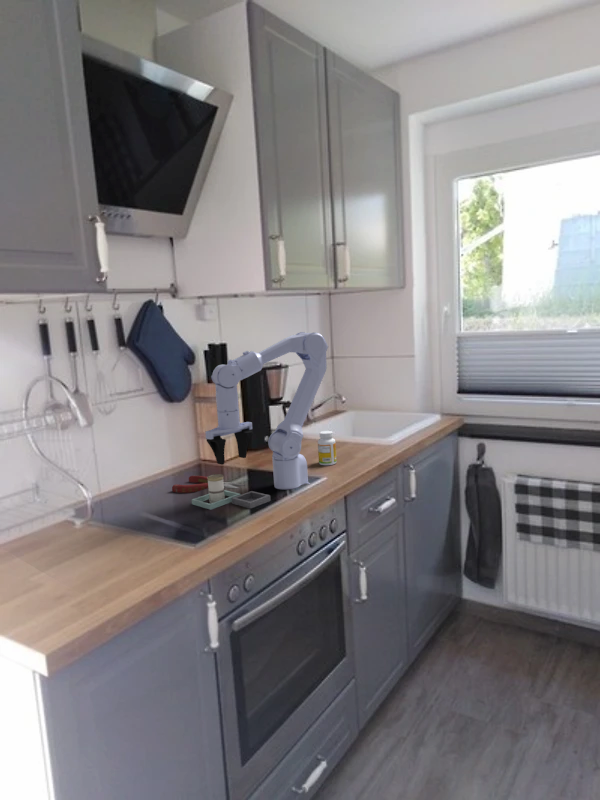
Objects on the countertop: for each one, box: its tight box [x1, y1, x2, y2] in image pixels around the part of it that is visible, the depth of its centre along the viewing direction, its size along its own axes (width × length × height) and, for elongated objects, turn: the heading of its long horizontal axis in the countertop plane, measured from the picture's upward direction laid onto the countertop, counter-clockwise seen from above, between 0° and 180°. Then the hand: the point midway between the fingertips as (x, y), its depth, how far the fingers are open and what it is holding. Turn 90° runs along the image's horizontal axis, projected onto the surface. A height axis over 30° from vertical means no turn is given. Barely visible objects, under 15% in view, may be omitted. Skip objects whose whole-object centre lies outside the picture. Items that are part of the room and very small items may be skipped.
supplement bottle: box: [317, 430, 337, 466], centre depth 185 cm, size 6×6×10 cm
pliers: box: [171, 475, 245, 494], centre depth 167 cm, size 12×20×3 cm, turn 70°
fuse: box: [206, 473, 226, 504], centre depth 151 cm, size 4×4×7 cm
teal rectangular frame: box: [191, 489, 242, 510], centre depth 152 cm, size 10×8×2 cm
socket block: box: [231, 490, 271, 509], centre depth 149 cm, size 7×7×2 cm
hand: (231, 460), depth 154 cm, fingers open, 7 cm apart
